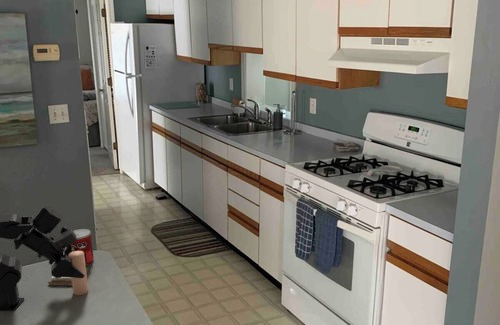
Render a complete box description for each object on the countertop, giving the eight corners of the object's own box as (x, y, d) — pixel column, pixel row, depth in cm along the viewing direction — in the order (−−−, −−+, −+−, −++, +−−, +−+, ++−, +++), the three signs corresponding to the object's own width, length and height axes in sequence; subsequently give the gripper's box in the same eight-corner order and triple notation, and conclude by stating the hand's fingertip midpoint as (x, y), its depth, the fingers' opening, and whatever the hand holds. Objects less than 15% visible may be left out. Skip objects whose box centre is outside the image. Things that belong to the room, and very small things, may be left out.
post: (85, 295, 161) (80, 257, 158) (71, 295, 162) (65, 257, 158) (90, 287, 166) (86, 250, 162) (76, 287, 166) (71, 250, 163)
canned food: (66, 265, 182) (62, 236, 179) (80, 255, 189) (77, 227, 186) (84, 268, 179) (80, 239, 176) (98, 258, 186) (95, 230, 183)
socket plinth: (77, 285, 168) (76, 279, 167) (48, 285, 168) (47, 279, 168) (88, 271, 177) (87, 265, 176) (60, 271, 178) (60, 265, 177)
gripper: (58, 235, 148) (102, 263, 154) (58, 213, 165) (97, 239, 171) (32, 265, 147) (77, 291, 154) (35, 240, 164) (75, 265, 171)
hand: (82, 270), depth 162 cm, fingers open, 9 cm apart
